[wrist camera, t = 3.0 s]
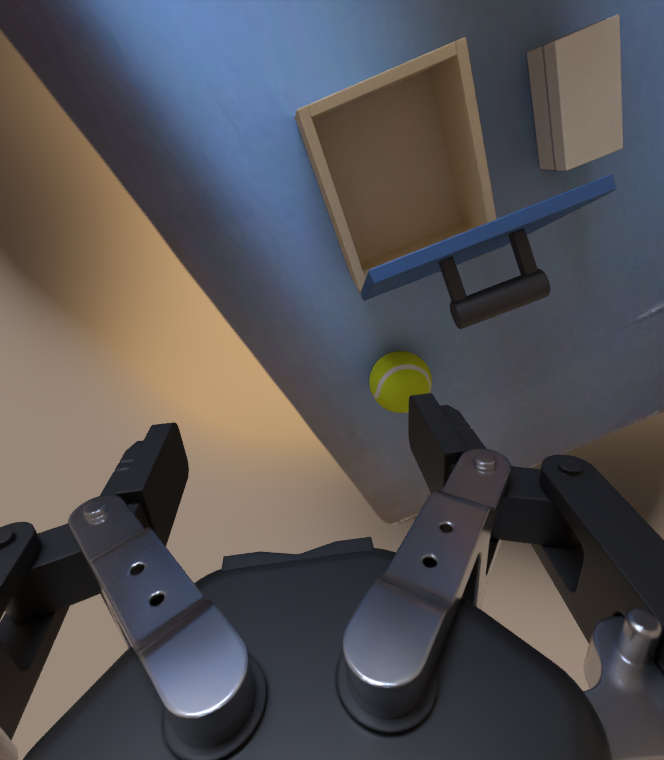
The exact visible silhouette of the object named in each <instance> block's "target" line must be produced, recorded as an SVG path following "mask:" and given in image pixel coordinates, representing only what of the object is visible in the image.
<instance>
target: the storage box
mask: <svg viewBox="0 0 664 760" xmlns="http://www.w3.org/2000/svg"><path fill="white" fill-rule="evenodd" d="M295 119H296V122H297V125H298V128H299V131H300V133H301V136H302V139H303V142H304V145H305V148H306V150H307V153H308V156H309V159H310V162H311V165H312V168H313V170H314V173H315V176H316V179H317V182H318V185H319V187H320V190H321V193H322V196H323V199H324V202H325V205H326V207H327V210H328V213H329V216H330V219H331V222H332V224H333V227H334V230H335V233H336V236H337V239H338V242H339V244H340V247H341V250H342V253H343V256H344V259H345V261H346V264H347V267H348V270H349V273H350V275H351V277H352V279H353V281H354V282H355V284H356V286H357V288H358V290H359V292H360V294H361V290H362V287H363V284H364V282H365V279H366V276H367V273H368V271H369V269H372V268H374V267H377V266H379V265H382V264H384V263H387V262H389V261H392V260H394V259H397V258H399V257H402V256H405V255H407V254H410V253H412V252H415V251H417V250H420V249H422V248H425V247H427V246H430V245H432V244H435V243H437V242H440V241H443V240H445V239H448V238H450V237H453V236H455V235H458V234H460V233H463V232H465V231H468V230H470V229H473V228H476V227H478V226H481V225H483V224H486V223H488V222H491V221H493V220H496V213H495V207H494V202H493V196H492V190H491V184H490V178H489V172H488V166H487V160H486V154H485V148H484V142H483V136H482V130H481V124H480V118H479V113H478V107H477V101H476V95H475V89H474V83H473V77H472V71H471V65H470V59H469V53H468V47H467V41H466V37H464V38H461V39H459V40H457V41H455V42H452V43H450V44H447V45H445V46H443V47H441V48H438V49H436V50H434V51H431V52H429V53H427V54H424V55H422V56H420V57H417V58H415V59H413V60H410V61H408V62H406V63H404V64H401V65H399V66H397V67H394V68H392V69H390V70H387V71H385V72H383V73H380V74H378V75H376V76H374V77H371V78H369V79H367V80H364V81H362V82H360V83H357V84H355V85H353V86H350V87H348V88H346V89H343V90H341V91H339V92H337V93H334V94H332V95H330V96H327V97H325V98H323V99H320V100H318V101H316V102H313V103H311V104H309V105H308V106H307V105H306V106H304V107H302V108H300V109H297V112H296V115H295Z"/></svg>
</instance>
